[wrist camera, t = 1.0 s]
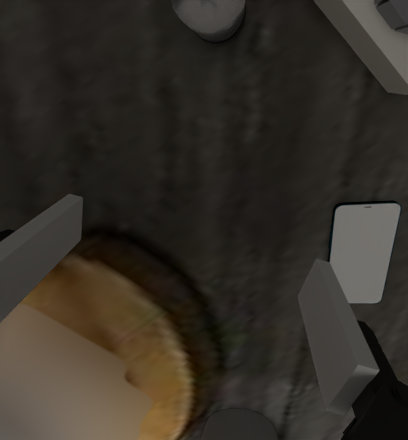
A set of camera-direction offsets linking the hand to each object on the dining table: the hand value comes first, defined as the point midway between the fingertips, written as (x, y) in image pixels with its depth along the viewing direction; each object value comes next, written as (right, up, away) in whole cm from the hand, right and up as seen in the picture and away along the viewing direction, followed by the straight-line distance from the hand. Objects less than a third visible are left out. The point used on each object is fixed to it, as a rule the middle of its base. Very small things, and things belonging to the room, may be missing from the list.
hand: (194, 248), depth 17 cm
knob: (+2, +22, +14) cm, 26 cm away
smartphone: (+22, -3, +24) cm, 33 cm away
